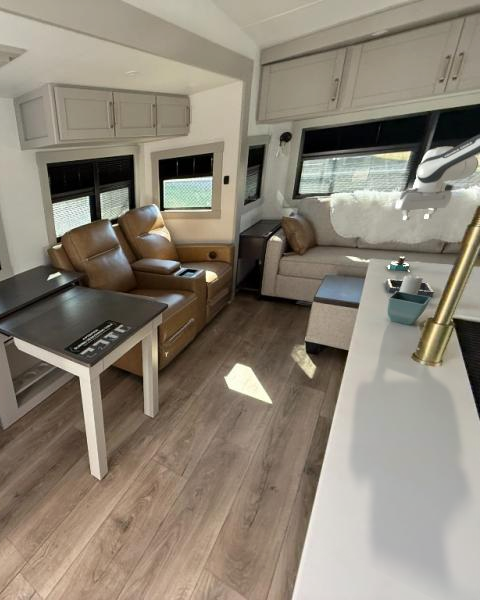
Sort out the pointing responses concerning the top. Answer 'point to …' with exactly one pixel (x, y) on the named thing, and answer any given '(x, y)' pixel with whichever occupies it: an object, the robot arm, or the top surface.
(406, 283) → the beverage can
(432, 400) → the top surface
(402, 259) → the peg stand
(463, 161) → the robot arm
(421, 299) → the flower pot
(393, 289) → the tray
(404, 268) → the ring
